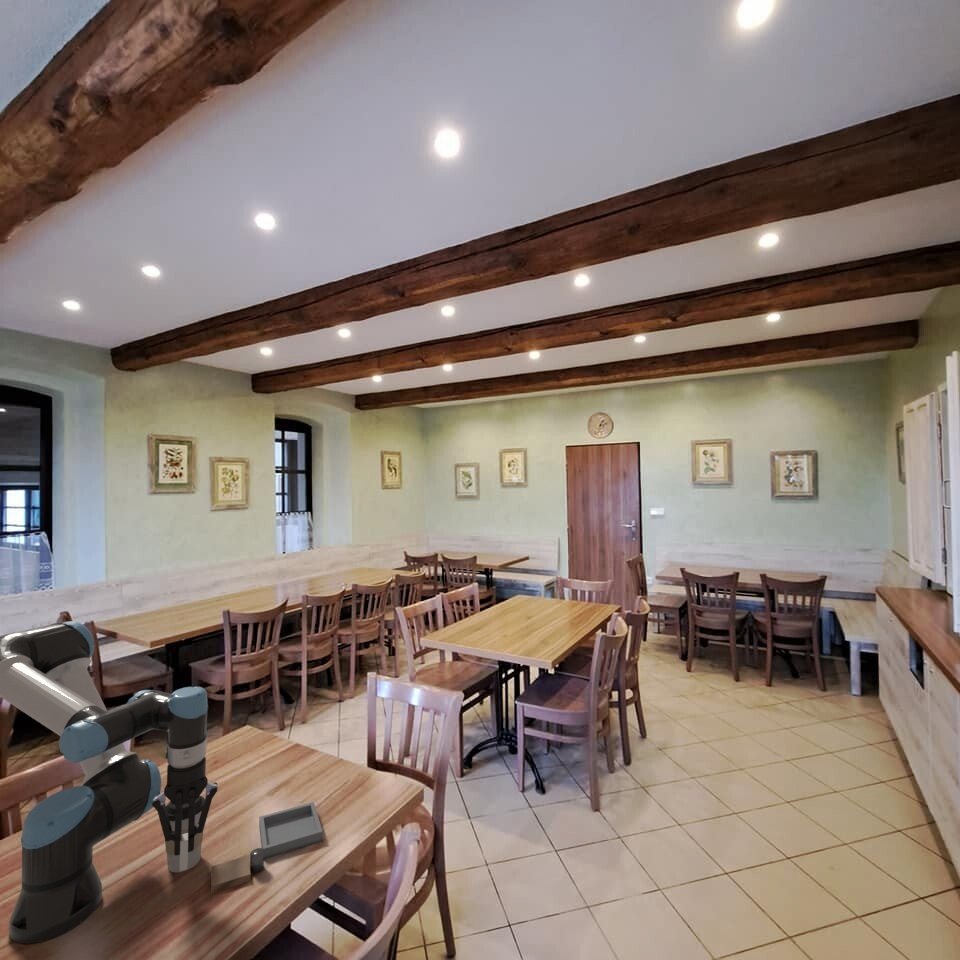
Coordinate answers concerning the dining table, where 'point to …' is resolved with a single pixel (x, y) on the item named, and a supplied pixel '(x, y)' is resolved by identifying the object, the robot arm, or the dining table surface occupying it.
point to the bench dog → (257, 861)
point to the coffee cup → (196, 853)
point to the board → (230, 874)
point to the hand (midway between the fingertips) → (183, 866)
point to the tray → (290, 830)
